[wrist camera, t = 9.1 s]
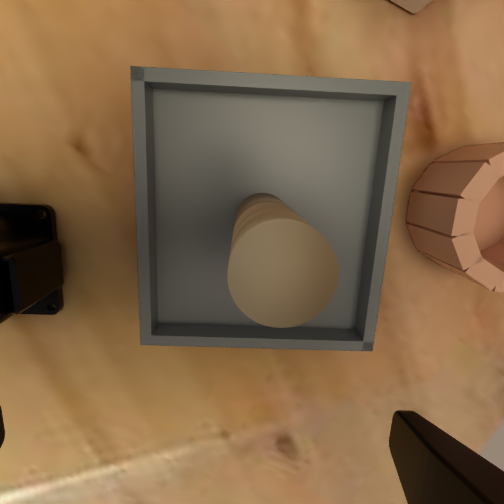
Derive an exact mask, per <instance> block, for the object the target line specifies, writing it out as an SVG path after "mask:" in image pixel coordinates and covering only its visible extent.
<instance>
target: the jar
mask: <svg viewBox="0 0 504 504" xmlns="http://www.w3.org/2000/svg"><path fill="white" fill-rule="evenodd" d="M390 1H392V2H394V3H395V4H397V5H399V6H400V7H402V8H404V9H406V10H407V11H409V12H411V13H413V14H415V13H418V12H419V11H421V10H422V9H424V8H425V7H426V6H428V5H429V4H430V3H432V2H433V1H434V0H390Z"/></svg>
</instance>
